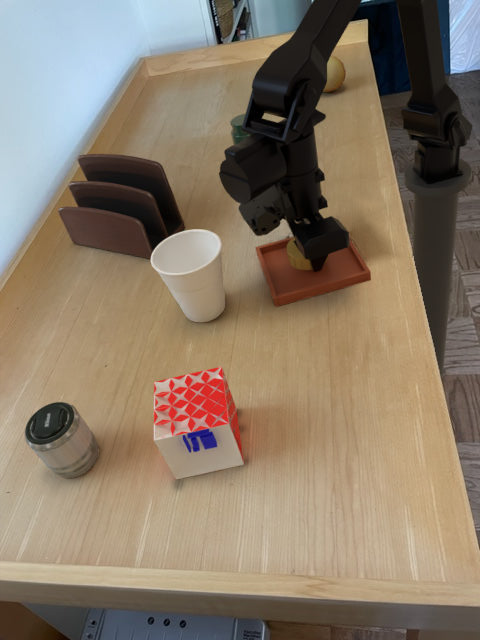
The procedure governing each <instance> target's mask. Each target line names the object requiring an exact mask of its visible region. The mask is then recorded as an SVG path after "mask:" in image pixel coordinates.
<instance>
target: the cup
mask: <svg viewBox="0 0 480 640" xmlns="http://www.w3.org/2000/svg"><path fill="white" fill-rule="evenodd" d="M222 248H223V241H222V239H221V237H220V236H219V235H218V234H217V233H216V232H213V231H211V230H209V229H203V228H202V229H201V228H199V229H198V228H193V229H187V230H182V231H181V232H179V233H176V234H174V235H172V236H170V237H168V238H166V239H165V240H163V241H162V242H161V243H160V244H159V245H158V246H157V247H156V248H155V249H154V251H153V252H152V255H151V259H150V265H151V267H152V268H153V269H154V270H155V271H156V272H157V273H158V275H159V277H160V278H161V279H162V280H163V282H164V284H165V285H166V288H167V289H168V290H169V292H170V293H171V295H172V297H173V298H174V300H175V301H176V302H177V305H178V306H179V307H180V309H181V310H182V312H183V314H184V315H185V317H186V318H187V319H188V320H189V321H192V322H195V323H207V322H211V321H213V320H215V319H217V318H218V317H219V316H220V315H221V314H222V313H223V312H224V310H225V309H226V295H225V283H224V282H225V281H224V272H223V259H222Z"/></svg>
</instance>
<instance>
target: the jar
mask: <svg viewBox="0 0 480 640" xmlns="http://www.w3.org/2000/svg"><path fill="white" fill-rule="evenodd" d="M245 114H246V113H242V114H239V115H236V116H234V117H233V118H232V119H231V120H230V122H229V124H230V125H231V126H230V127H231V131H230V136H231V140H232V145H236V144H238V143H240V142H241V141H243V140H245V139H246V138H248V137H250V136H251V135H250V134H249V133H245V132H243V131H242V125H243V122H244V118H245Z"/></svg>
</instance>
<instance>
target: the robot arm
mask: <svg viewBox="0 0 480 640" xmlns="http://www.w3.org/2000/svg"><path fill="white" fill-rule="evenodd" d="M362 1H363V0H312V2H311V4H310V5H309V7H308V8H307V10H306V12H305V14H304V16H303V17H302V19H301V21H300V23H299V25H298V27H297V28H296V30H295V31H294V33H293V34H292V36H291V37H290V38H289V39H288V40H287V41H285V42H283V43H282V44H281V45H280V46H278V47H276V48H275V49H274V50H272V51H271V53H270V54H269V55H268V57H267V58H266V59H265V61H264V62H263V63H262V65H261V66H260V67H259V69H258V70H257V71H256V73H255V75H254V77H253V80H252V83H251V92H250V97H249V100H248V104H247V107H246V111H245V113H244V114H245V118H244V122H243V125H242V131H243V132H245V133H249V134H250V135H251V136H250V137H248V138H246V139H245V140H243V141H241V142H240V143H238V144H236V145H233V144H232V145H230V146H229V147H227V148H226V149H224V151H223V153H224V157H225V159H223V160H222V162H221V163H220V167H219V172H218V177H219V180H220V182H221V185H222V187H223V189H224V190H225V192H226V193H227V195H228V196H229V197H230V198H231V199H232V200H234V201H235V202H237V203H238V204H239V205H238V212H239V213H240V215H241V217H242V218H243V221H244V222H245V223H246V225H248V227H249V229H250V230H251V231H252V233H254V235H255V236H257V237H260V236H261V237H262V236H266V235H269V234H270V233H272V232H273V231H274V230H276V229H278V227H280V225H281V221H282V220H284V221H286V223H287V226H288V228H289V230H290V232H291V235H292V237H295V241H293V242H294V243H295V245H296V246H297V248H298V250H299V251H300V252H301V253H302V255H303V256H304V258H305V259H307V260H309V261H310V263H311V266H312V269H313V271H314V272H318V271H320V270H321V269H322V267H323V265H324V263H325V261H326V259H327V257H328V255H329V254H330V253H333V252H336V251H339V250H342V249H345V248H348V246H349V244H350V240H349V237H350V232H349V230H347V228H346V227H345V226H344V224H343V223H342V221H341V220H339V219H338V218H337V217H335V216H332V215H331V216H327V217H324V215H322V214H321V212H320V210H323V209H327V208H328V206H329V205H328V200H327V199H326V197H325V196H324V195H323V193H322V184H321V183H322V182H324V181H326V176H325V173H324V171H323V170H322V169H321V168H320V167H319V158H318V157H319V156H318V149H317V141H316V133H315V132H316V131H315V126H317V125H318V124H320V123H321V122H323V121H325V120H326V118H327V115H326V113H324V112H322V111H320V110H318V109H317V106H318V105H319V101H320V99H321V97H322V94H323V93H324V92H323V90H324V88H325V86H326V83H327V63H328V61H329V58H330V56H332V54H333V53H334V50H335V48H336V47H337V45H338V44H339V41H340V40H341V38H342V36H343V35H344V33H345V31H346V30H347V28H348V26H349V25H350V23H351V21H352V19H353V18H354V16H355V14H356V12H357V10H359V9H358V8H359V7H360V6H361V3H362ZM394 1H395V3H396V5H397V11H398V18H399V22H400V29H401V37H402V41H403V46H404V52H405V53H404V54H405V58H406V65H407V71H408V76H409V82H410V88H411V94H410V96H409V98H408V100H407V102H406V104H405V106H403V107H402V108H401V111H400V114H401V118H402V123H403V125H402V127H403V128H402V129H403V130H406V132H407V135H408V138H409V140H410V141H416V142H417V149H415V150H414V159H413V160H414V161H413V162H414V166H413V170H414V171H415V172H416V173H417V174H418V175H419V177H421V178H422V179H423V180H424V182H425V183H426V184H433V183H436V182H440V181H444V180H447V179H451V178H454V177H458V176H461V175H463V171H462V170H461V169H460V168H459V158H460V156H461V148H463V147H466V146H467V143H468V140H469V139H470V138H471V135H472V131H473V127H474V126H473V124H472V122H470V121H469V120H468V118H467V117H466V116H465V115H463V110H462V106H461V102H460V98H459V96H458V94H457V93H456V92H455V91H454V89H453V88H452V87H451V86H450V85H449V84H448V82H447V80H446V70H445V61H444V54H443V53H444V51H443V43H442V34H441V25H440V16H439V8H438V7H439V6H438V0H394ZM265 114H267V115H270V116H275V117H278V118H283V119H281V120H280V121H278V122H277V121H274V120H271V119H266V118H263V117H264V115H265ZM460 159H461V158H460Z"/></svg>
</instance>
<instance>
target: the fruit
mask: <svg viewBox="0 0 480 640" xmlns="http://www.w3.org/2000/svg"><path fill="white" fill-rule="evenodd" d="M346 71H347V70H346V69H345V65H344V62H342V60H341V59H339V58H338V57H337V56H335V55H331V56H330V58H329V61H328V63H327V83H326V86H325V88H324V90H323V93H331V92H334V91H335V90H338V89H340V88H341V86H342V85H343V83H344V81H345V80H346V75H347V74H346Z"/></svg>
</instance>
